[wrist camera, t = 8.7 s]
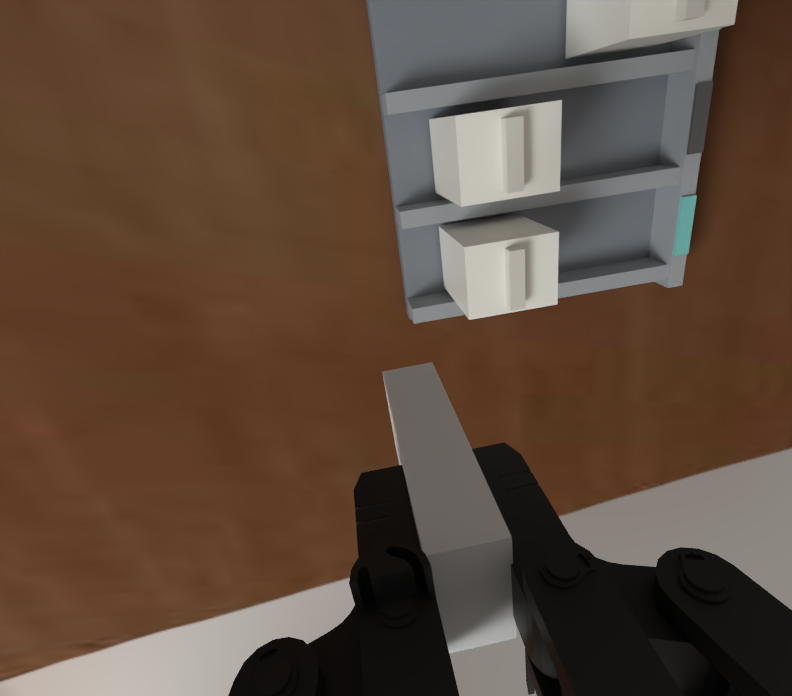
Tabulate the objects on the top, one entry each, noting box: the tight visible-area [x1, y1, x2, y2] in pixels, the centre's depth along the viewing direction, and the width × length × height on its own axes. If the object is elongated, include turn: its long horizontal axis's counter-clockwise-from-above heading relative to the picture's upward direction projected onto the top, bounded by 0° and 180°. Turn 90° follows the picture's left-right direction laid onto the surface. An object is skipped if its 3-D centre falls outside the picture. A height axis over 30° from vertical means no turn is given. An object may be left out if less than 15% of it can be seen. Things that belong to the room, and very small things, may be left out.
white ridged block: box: [429, 100, 562, 207], centre depth 24 cm, size 4×5×7 cm
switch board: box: [366, 0, 721, 324], centre depth 27 cm, size 20×18×4 cm
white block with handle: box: [439, 213, 559, 320], centre depth 27 cm, size 4×5×7 cm
